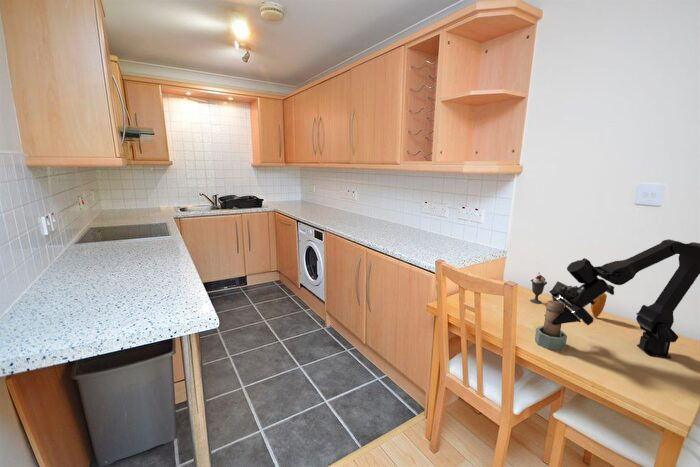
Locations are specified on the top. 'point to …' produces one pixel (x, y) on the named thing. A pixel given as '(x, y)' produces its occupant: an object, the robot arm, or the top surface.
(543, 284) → the sundae
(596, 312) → the carrot
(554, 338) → the pot
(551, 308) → the pepper mill
